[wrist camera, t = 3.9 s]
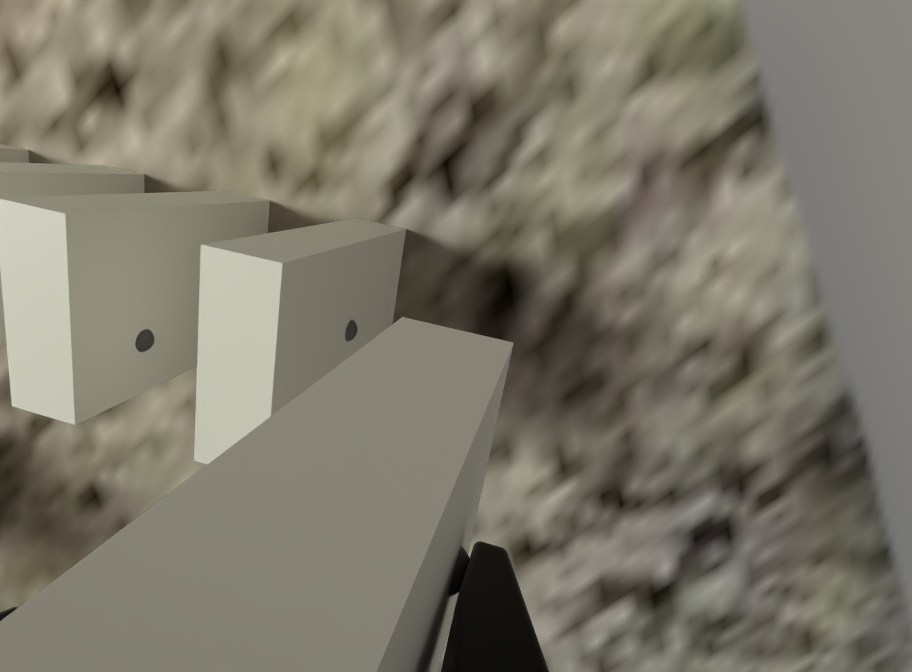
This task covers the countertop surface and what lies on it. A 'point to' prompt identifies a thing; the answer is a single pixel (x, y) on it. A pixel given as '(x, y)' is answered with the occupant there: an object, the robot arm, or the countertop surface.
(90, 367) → the domino
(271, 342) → the domino
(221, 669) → the domino
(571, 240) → the countertop surface
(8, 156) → the domino
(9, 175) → the domino
